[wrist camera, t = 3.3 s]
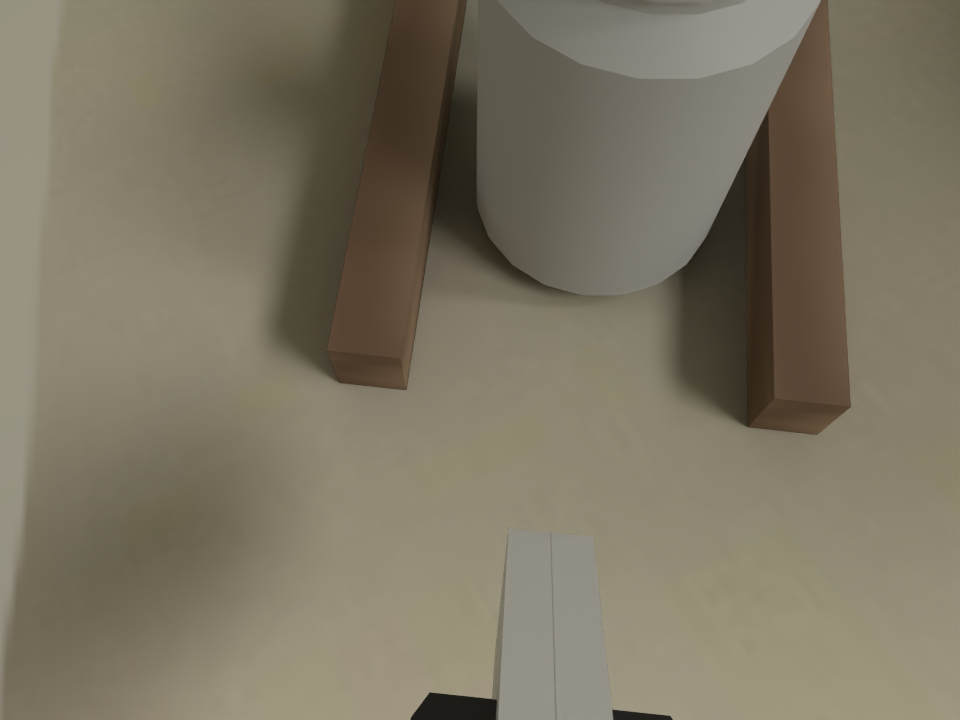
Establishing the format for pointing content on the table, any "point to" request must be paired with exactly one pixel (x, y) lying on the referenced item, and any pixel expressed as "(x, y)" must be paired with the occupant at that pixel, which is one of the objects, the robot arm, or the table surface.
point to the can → (619, 128)
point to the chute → (769, 226)
